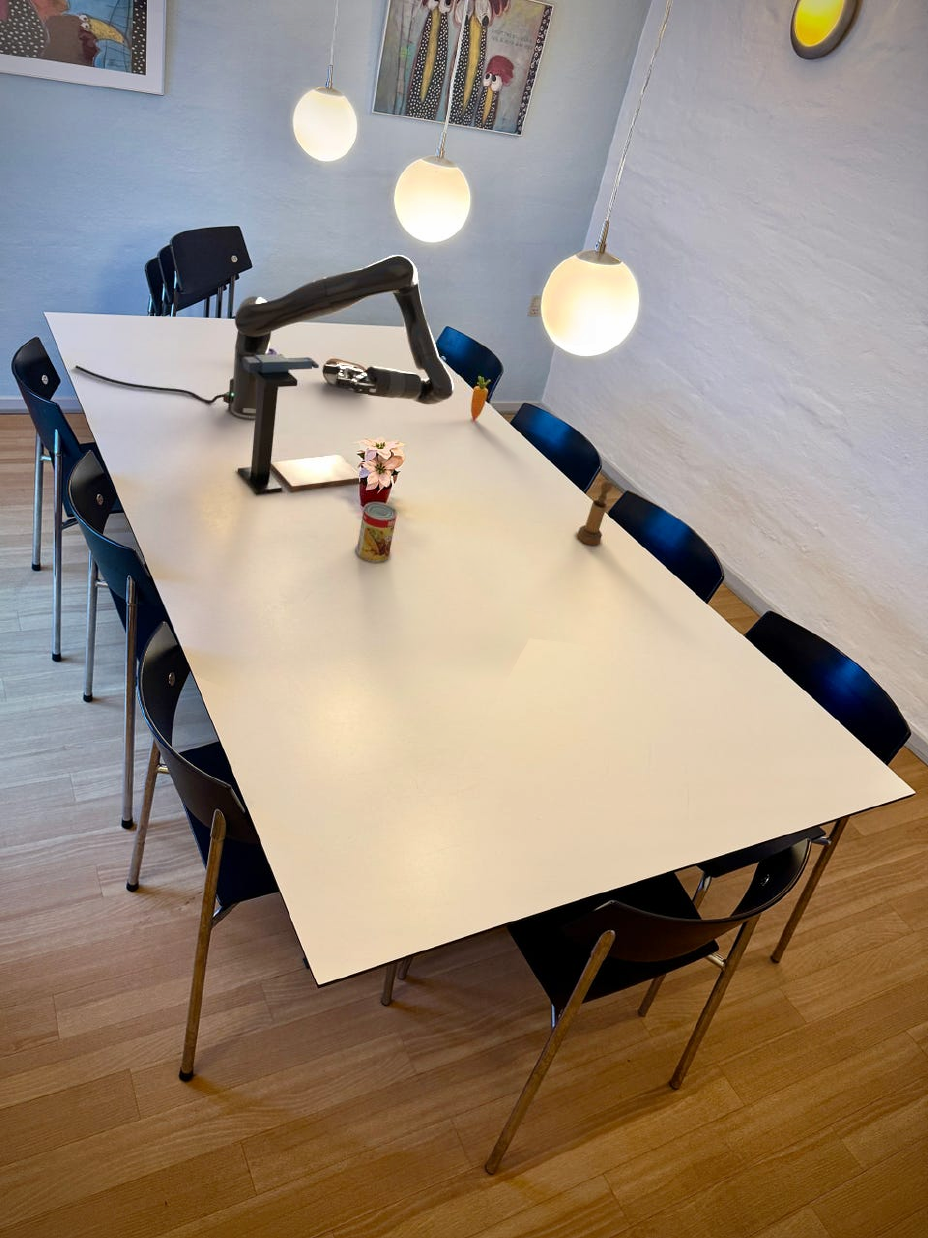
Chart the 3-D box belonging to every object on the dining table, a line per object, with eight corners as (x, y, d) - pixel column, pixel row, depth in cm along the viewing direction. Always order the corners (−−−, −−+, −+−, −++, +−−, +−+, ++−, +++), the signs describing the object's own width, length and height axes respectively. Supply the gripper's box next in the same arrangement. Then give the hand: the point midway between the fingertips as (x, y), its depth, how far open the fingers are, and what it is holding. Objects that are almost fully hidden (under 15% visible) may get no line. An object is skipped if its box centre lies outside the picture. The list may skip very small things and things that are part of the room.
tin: (367, 390, 292) (370, 366, 287) (365, 394, 290) (368, 369, 285) (322, 379, 292) (325, 355, 287) (320, 382, 289) (323, 358, 284)
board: (338, 460, 249) (339, 455, 248) (361, 482, 241) (362, 477, 241) (270, 467, 237) (270, 462, 236) (291, 491, 230) (292, 486, 229)
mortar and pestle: (575, 530, 245) (594, 473, 235) (597, 534, 247) (617, 477, 236) (579, 543, 240) (598, 485, 230) (601, 547, 241) (622, 489, 231)
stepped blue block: (310, 363, 220) (311, 353, 219) (318, 370, 218) (319, 360, 216) (242, 365, 210) (242, 355, 209) (249, 373, 207) (250, 363, 206)
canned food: (391, 562, 213) (400, 520, 206) (359, 561, 210) (367, 518, 203) (385, 544, 219) (393, 502, 212) (354, 543, 216) (361, 501, 209)
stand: (262, 467, 236) (272, 356, 219) (285, 493, 228) (297, 380, 210) (234, 470, 232) (241, 357, 214) (256, 497, 224) (266, 381, 206)
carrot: (483, 420, 293) (494, 377, 284) (477, 424, 289) (487, 381, 281) (470, 415, 294) (480, 372, 286) (464, 419, 290) (474, 376, 282)
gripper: (377, 358, 238) (322, 350, 228) (400, 380, 229) (344, 372, 219) (369, 385, 242) (315, 378, 232) (392, 407, 232) (337, 400, 223)
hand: (329, 375), depth 226 cm, fingers open, 8 cm apart
